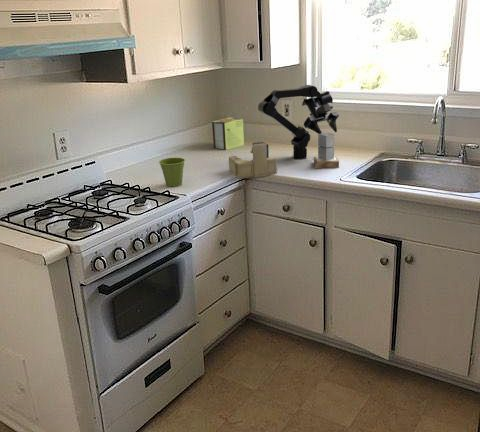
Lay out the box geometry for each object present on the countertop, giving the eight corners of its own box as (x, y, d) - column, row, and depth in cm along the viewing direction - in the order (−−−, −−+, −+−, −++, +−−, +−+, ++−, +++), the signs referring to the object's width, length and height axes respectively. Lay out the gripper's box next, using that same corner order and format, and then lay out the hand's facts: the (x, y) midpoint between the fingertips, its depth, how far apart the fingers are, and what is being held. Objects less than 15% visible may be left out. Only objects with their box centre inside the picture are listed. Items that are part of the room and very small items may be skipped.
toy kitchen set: (264, 166, 268) (263, 136, 263) (277, 174, 253) (276, 142, 248) (228, 171, 263) (227, 140, 257) (240, 179, 248) (238, 147, 242)
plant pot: (156, 187, 241) (153, 163, 237) (168, 180, 251) (166, 156, 247) (180, 189, 237) (177, 164, 233) (191, 181, 247) (189, 158, 243)
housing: (318, 158, 264) (318, 134, 260) (325, 156, 267) (326, 132, 263) (326, 160, 259) (326, 135, 255) (334, 158, 262) (334, 134, 258)
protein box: (244, 145, 315) (243, 118, 310) (225, 150, 305) (224, 122, 299) (231, 143, 322) (230, 117, 316) (213, 148, 311) (211, 121, 306)
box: (269, 165, 269) (268, 144, 266) (258, 166, 267) (257, 145, 264) (263, 161, 276) (262, 141, 272) (252, 163, 274) (252, 142, 271)
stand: (315, 168, 259) (315, 161, 258) (313, 162, 270) (313, 156, 269) (338, 167, 259) (338, 160, 258) (336, 161, 269) (336, 155, 268)
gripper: (306, 101, 262) (320, 126, 257) (336, 95, 270) (351, 120, 265) (297, 115, 272) (311, 140, 266) (327, 109, 280) (340, 133, 275)
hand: (329, 133), depth 268 cm, fingers open, 9 cm apart
